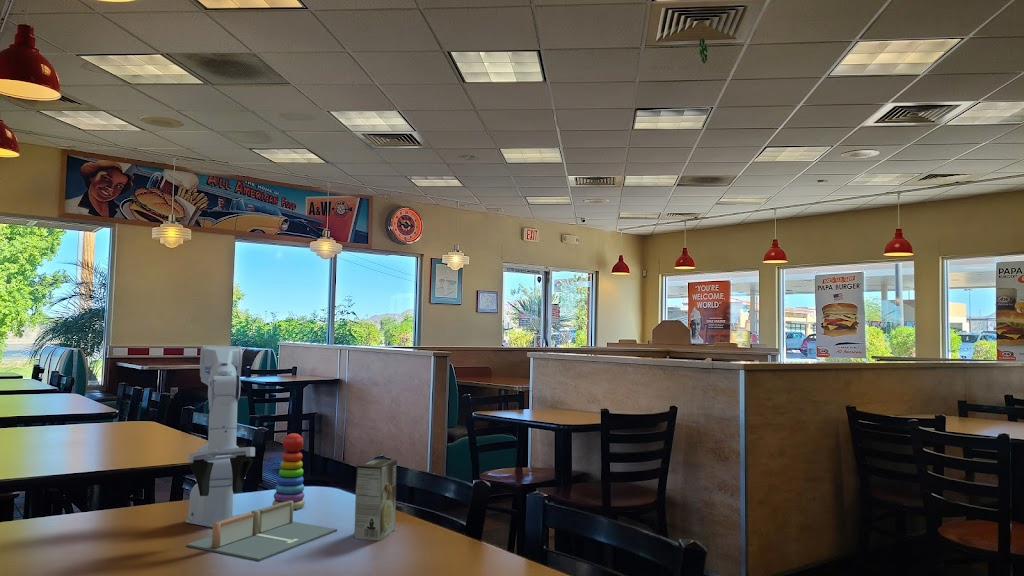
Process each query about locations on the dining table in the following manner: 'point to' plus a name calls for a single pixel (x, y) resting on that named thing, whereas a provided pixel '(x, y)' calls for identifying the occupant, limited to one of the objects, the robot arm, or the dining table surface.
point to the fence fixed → (272, 517)
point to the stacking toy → (291, 473)
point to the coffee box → (375, 499)
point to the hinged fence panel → (232, 529)
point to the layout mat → (267, 541)
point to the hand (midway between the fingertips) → (220, 494)
